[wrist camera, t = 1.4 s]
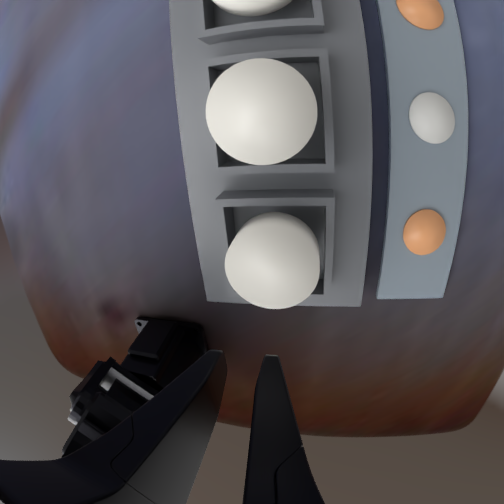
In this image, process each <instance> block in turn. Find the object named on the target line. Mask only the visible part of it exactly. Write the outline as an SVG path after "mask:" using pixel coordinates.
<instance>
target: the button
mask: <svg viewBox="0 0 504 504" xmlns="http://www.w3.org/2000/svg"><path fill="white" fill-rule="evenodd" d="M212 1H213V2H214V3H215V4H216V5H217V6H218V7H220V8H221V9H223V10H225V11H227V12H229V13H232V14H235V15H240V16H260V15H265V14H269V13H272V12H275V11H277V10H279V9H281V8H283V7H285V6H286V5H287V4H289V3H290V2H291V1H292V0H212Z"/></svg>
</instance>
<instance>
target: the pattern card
mask: <svg viewBox="0 0 504 504" xmlns="http://www.w3.org/2000/svg"><path fill="white" fill-rule="evenodd" d="M376 5H377V10H378V16H379V22H380V28H381V35H382V42H383V50H384V59H385V69H386V81H387V97H388V121H389V165H388V190H387V206H386V219H385V230H384V240H383V249H382V257H381V264H380V272H379V278H378V285H377V291H376V297H377V299H419V298H443V295H444V291H445V288H446V284H447V280H448V276H449V272H450V268H451V264H452V260H453V255H454V251H455V246H456V241H457V236H458V231H459V225H460V219H461V213H462V206H463V198H464V190H465V180H466V169H467V154H468V95H467V80H466V69H465V60H464V52H463V45H462V39H461V33H460V28H459V23H458V18H457V13H456V9H455V5H454V1H453V0H376Z"/></svg>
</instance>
